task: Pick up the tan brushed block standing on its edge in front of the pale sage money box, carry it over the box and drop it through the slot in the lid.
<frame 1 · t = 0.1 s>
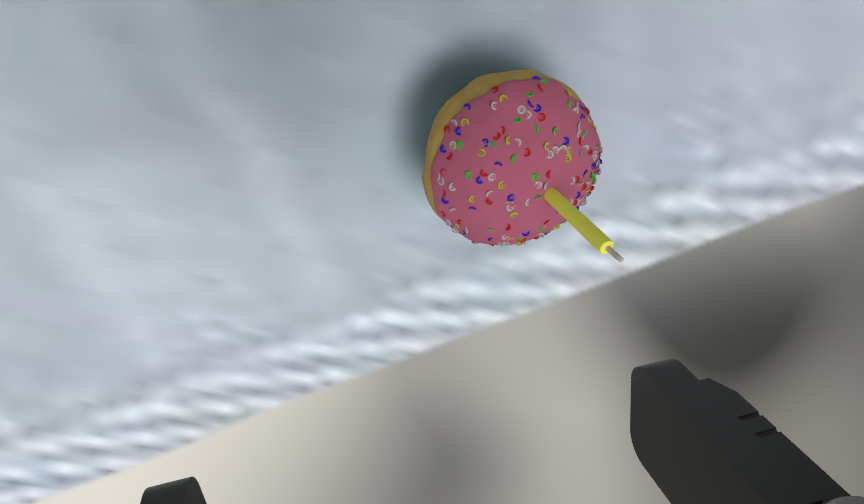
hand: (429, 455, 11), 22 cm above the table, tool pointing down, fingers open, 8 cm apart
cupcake: (482, 128, 33), on the table
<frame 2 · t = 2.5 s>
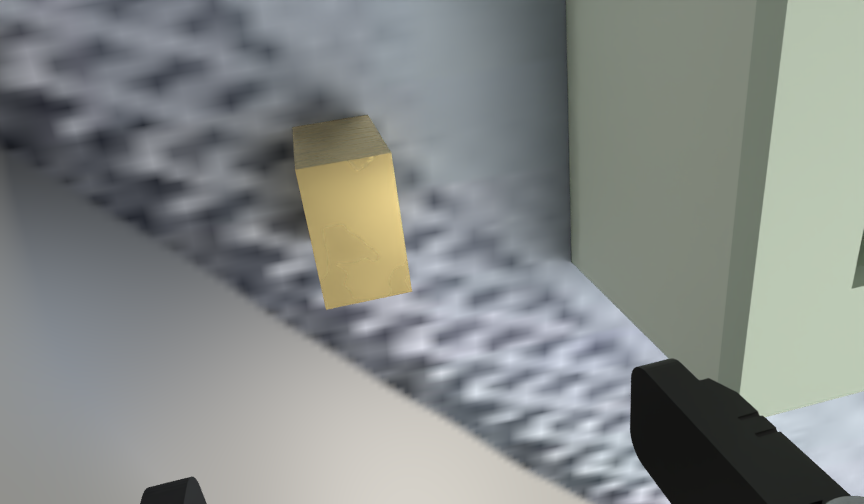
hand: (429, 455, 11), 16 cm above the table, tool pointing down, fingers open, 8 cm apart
money box: (698, 48, 27), on the table
tan brushed block: (341, 180, 26), on the table
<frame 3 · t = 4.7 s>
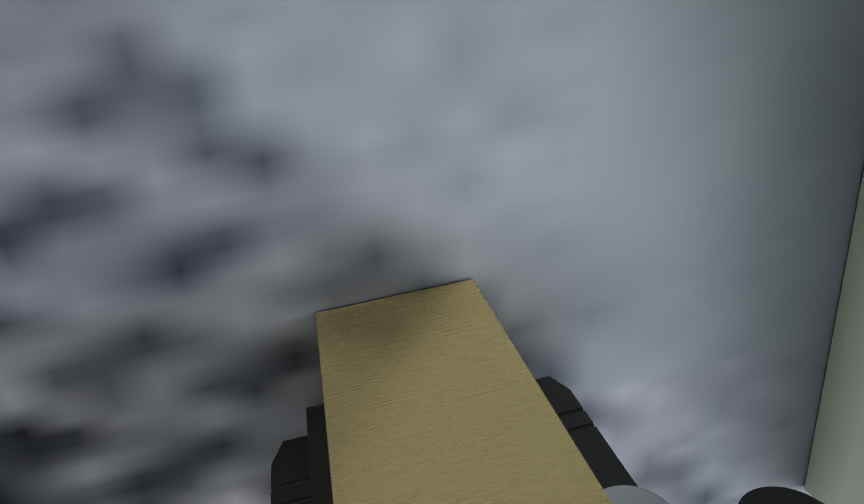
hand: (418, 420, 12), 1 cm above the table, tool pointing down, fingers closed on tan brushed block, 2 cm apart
tan brushed block: (413, 401, 13), on the table, touching gripper
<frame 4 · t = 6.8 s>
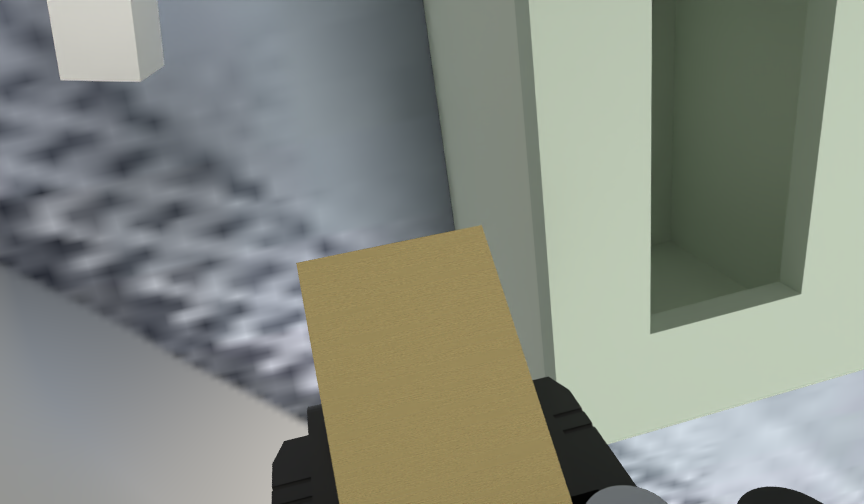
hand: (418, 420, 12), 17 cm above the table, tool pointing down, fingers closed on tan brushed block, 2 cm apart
money box: (564, 100, 29), on the table
tan brushed block: (392, 300, 12), point 16 cm above the table, tilted 41°, touching gripper
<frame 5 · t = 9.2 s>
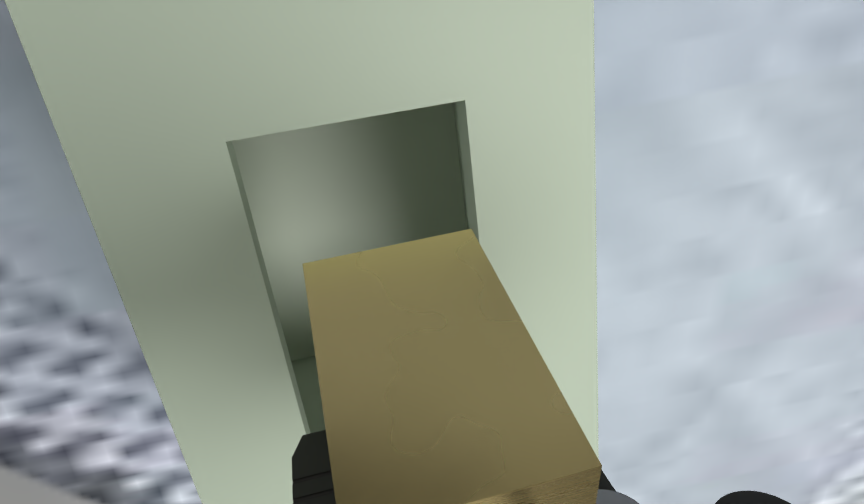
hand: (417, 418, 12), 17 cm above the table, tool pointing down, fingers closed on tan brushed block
money box: (342, 176, 27), on the table
tan brushed block: (422, 344, 9), point 19 cm above the table, tilted 102°, touching gripper
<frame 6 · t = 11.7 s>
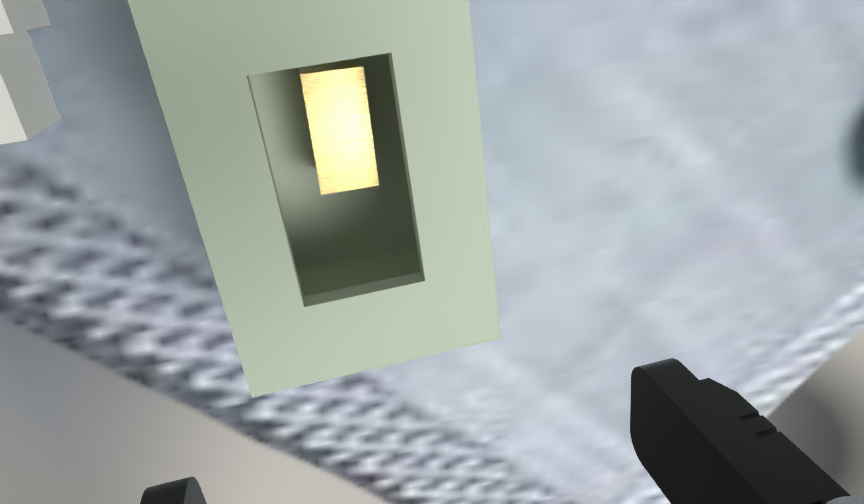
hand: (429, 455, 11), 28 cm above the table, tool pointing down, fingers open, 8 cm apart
napkin holder: (1, 15, 31), on the table
money box: (326, 126, 36), on the table
tan brushed block: (328, 63, 31), point 3 cm above the table, tilted 90°, touching money box
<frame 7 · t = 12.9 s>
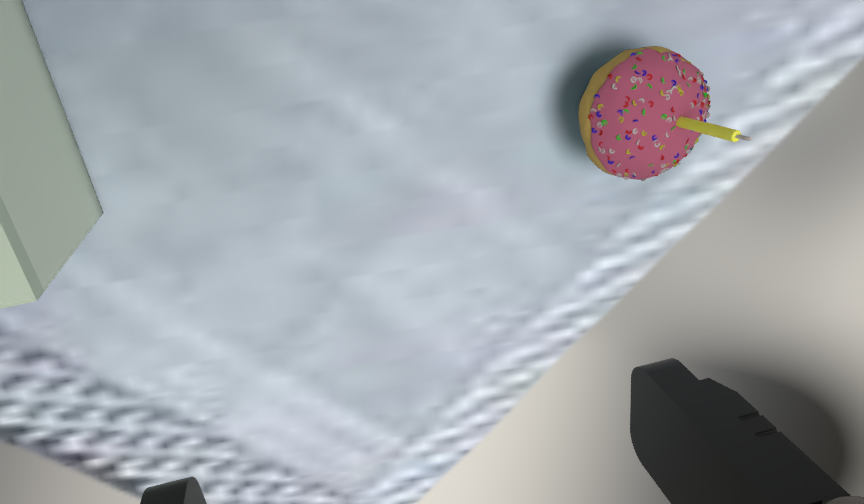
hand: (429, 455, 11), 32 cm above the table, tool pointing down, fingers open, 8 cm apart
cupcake: (609, 102, 44), on the table
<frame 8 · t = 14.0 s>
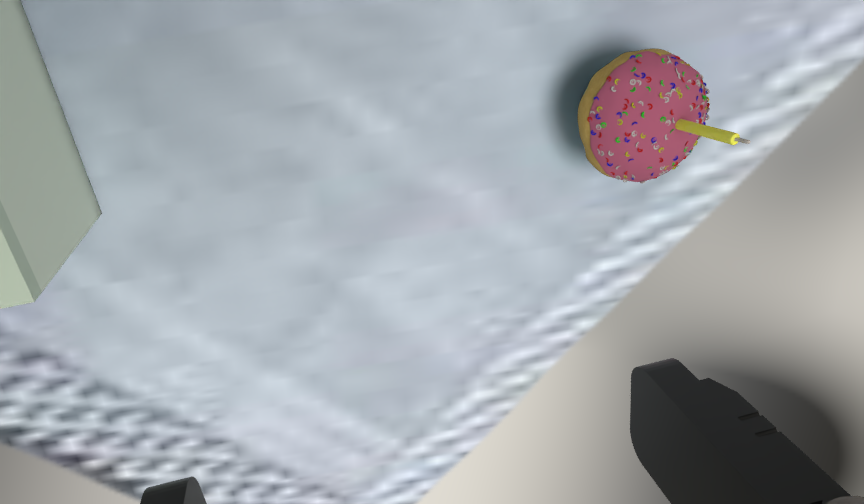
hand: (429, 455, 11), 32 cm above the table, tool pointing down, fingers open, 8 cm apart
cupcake: (608, 104, 44), on the table
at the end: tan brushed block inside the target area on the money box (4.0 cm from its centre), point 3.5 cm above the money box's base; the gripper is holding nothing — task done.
